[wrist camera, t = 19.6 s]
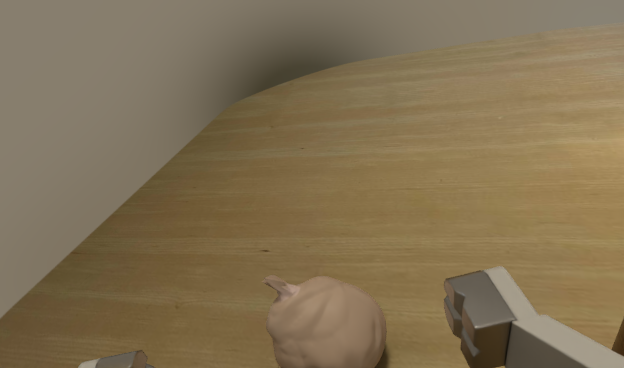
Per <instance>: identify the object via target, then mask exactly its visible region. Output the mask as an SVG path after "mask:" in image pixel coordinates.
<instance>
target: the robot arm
mask: <svg viewBox="0 0 624 368" xmlns="http://www.w3.org/2000/svg"><path fill="white" fill-rule="evenodd" d="M444 289H445V291H446V293H447V296H446V298H445V299H444V309H445V313H446V318H447V320H448V323H449V326H450V328H451V330H452V332H453V334H454V335H455V336H457V337H459V338H460V339H461V351H462V353H463V355H464V357H465V359H466V361H467V363H468V365H469V367H470V368H496V367H500V366H505V368H624V356H622V355H620V354H618V353H616V352H614V351H612V350H611V349H609V348H607V347H605V346H603V345H601V344H599V343H598V342H596V341H594V340H592V339H590V338H588V337H586V336H585V335H583V334H581V333H579V332H577V331H575V330H573V329H572V328H570V327H568V326H566V325H564V324H562V323H560V322H559V321H557V320H555V319H553V318H551V317H549V316H547V315H546V314H543V315H539V314H538V313H537V312H536V310H535V309H534V307H533V306H532V305H531V303H530V302H529V301H528V299H527V298H526V296H525V295H524V294H523V292H522V291H521V289H520V288H519V287H518V285H517V284H516V283H515V281H514V280H513V278H512V277H511V276H510V274H509V273H508V271H507V270H506V269H505V268H504V267H502V266H499V267H495V268H490V269H486V270H482V271H481V270H480V271H476V272H472V273H468V274H464V275H460V276H455V277H451V278H447V279H445V281H444ZM146 362H147V356H146V355H145V353H144V352H143V351H142V350H139V351H134V352H129V353H124V354H119V355H114V356H110V357H105V358H100V359H95V360H91V361H86V362H82V363H81V364H80V365H79V367H78V368H155V367H154V366H151V365H149V364H146Z"/></svg>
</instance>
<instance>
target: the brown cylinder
mask: <svg viewBox="0 0 624 368" xmlns="http://www.w3.org/2000/svg"><path fill="white" fill-rule="evenodd" d="M612 351H614V352H616V353H618V354H620V355H622V356H624V318H623V321H622V324H621V326H620V329H619V332H618V334H617V337H616V339H615V342H614V345H613V347H612Z"/></svg>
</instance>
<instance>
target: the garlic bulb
mask: <svg viewBox="0 0 624 368" xmlns="http://www.w3.org/2000/svg"><path fill="white" fill-rule="evenodd" d="M264 279H265V280H264V281H262V282H263V283H265V284H267V285H268V286H270V287H272V288H273V289H275V290H277V293H278V295H279V296H278V297H277V298H276V300H275V301H274V302H273V304H272V305H271V307H270V309H269V314H268V318H267V322H266V328H267V331H268V333H269V334H270V335H271V337H272V339H273V345H274V353H275V357H276V361H277V363H278V364H279V365H280V367H281V368H375V366H376V365H377V363H378V362H379V360H380V358H381V356H382V353H383V350H384V346H385V341H386V321H385V317H384V314H383V312H382V310H381V308H380V306H379V305H378V303H377V302H376V301H375V300H374V299H373V298H372V297H371V296H370V295H369V294H368V293H367V292H365V291H364V290H362V289H360V288H358V287H356V286H354V285H351V284H348V283H344V282H341V281H339V280H337V279H334V278H331V277H327V276H319V277H315V278H313V279H310V280H308V281H306V282H304V283H302V284H299V285H296V286H295V285H291V284H288V283H286V282H285V281H283V280H282V279H280V278H278V277H277V276H275V275H271V276H268V277H265V278H264Z"/></svg>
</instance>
